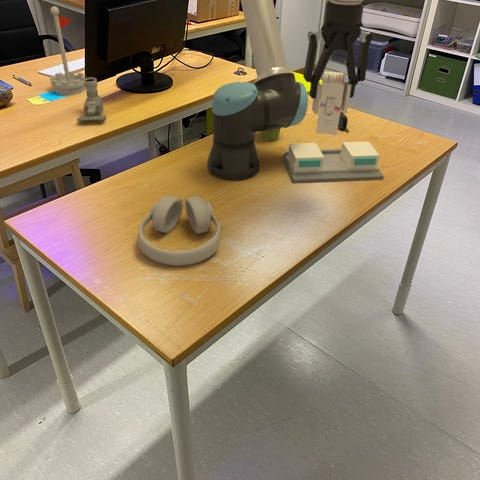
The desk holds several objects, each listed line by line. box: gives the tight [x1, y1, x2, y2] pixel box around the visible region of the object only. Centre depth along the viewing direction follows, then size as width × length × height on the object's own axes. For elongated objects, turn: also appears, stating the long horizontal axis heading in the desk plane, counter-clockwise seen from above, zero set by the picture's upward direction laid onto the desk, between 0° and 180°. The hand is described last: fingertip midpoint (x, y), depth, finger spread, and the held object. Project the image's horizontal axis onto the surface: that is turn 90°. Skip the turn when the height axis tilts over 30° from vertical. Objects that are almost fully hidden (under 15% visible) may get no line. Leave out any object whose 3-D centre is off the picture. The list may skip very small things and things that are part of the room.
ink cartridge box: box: [315, 59, 347, 136], centre depth 106 cm, size 9×5×15 cm, turn 169°
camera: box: [76, 76, 107, 121], centre depth 159 cm, size 9×12×15 cm
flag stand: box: [49, 6, 86, 97], centre depth 174 cm, size 13×13×30 cm
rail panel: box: [281, 141, 385, 184], centre depth 135 cm, size 26×16×6 cm, turn 97°
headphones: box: [137, 194, 222, 267], centre depth 105 cm, size 18×8×20 cm
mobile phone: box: [338, 110, 350, 133], centre depth 161 cm, size 5×3×15 cm
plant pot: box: [259, 128, 282, 142], centre depth 150 cm, size 9×9×9 cm
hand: (329, 111), depth 108 cm, fingers closed on ink cartridge box, 6 cm apart
